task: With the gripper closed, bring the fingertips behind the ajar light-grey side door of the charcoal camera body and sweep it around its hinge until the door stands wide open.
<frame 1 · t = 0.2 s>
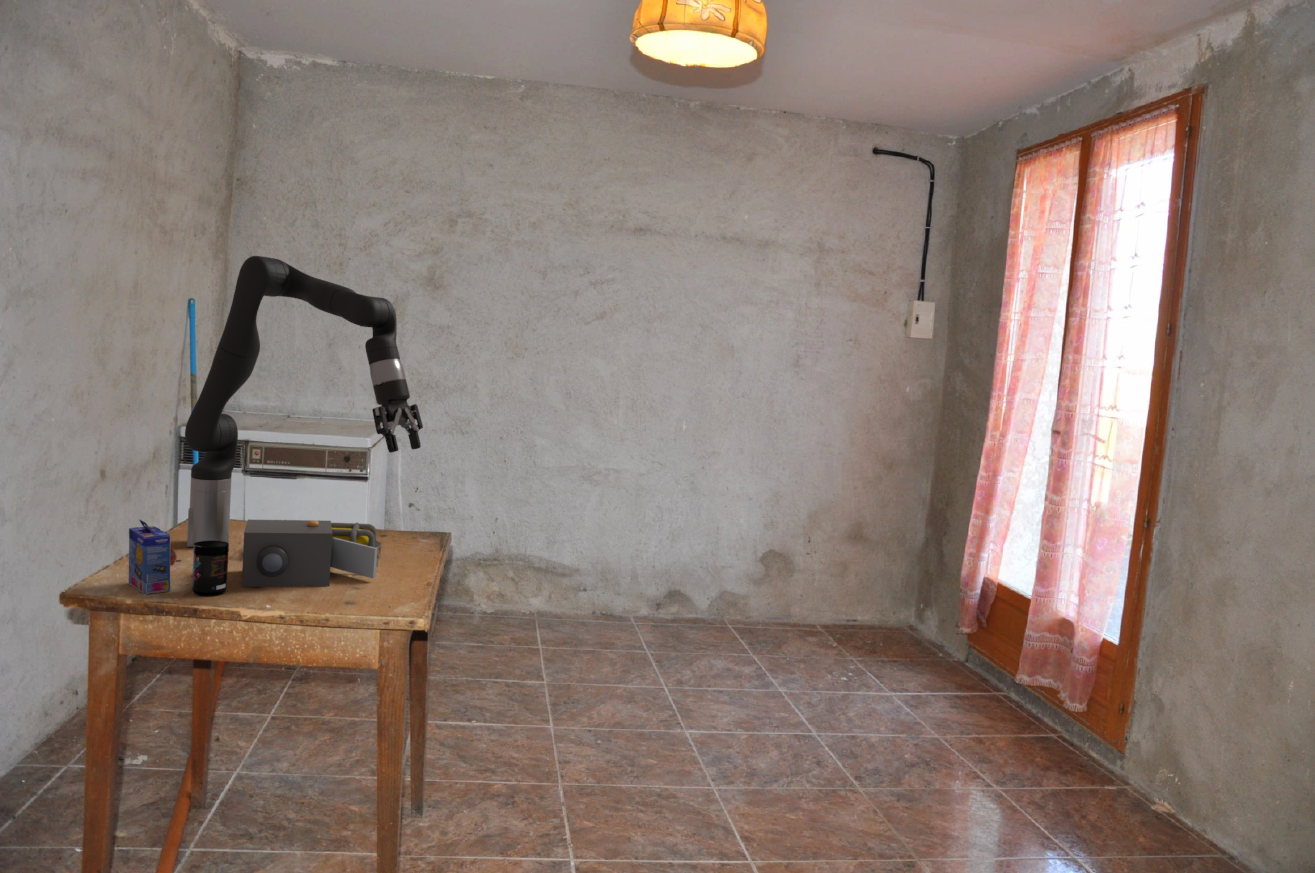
hand: (405, 450, 216), 31 cm above the table, tool tilted 20°, fingers open, 8 cm apart
cage light: (318, 557, 237), on the table
ink cartridge box: (148, 588, 198), on the table
supplement container: (209, 593, 199), on the table
side door: (353, 557, 220), point 4 cm above the table, hinge at 40.0°
camera body: (286, 578, 214), on the table
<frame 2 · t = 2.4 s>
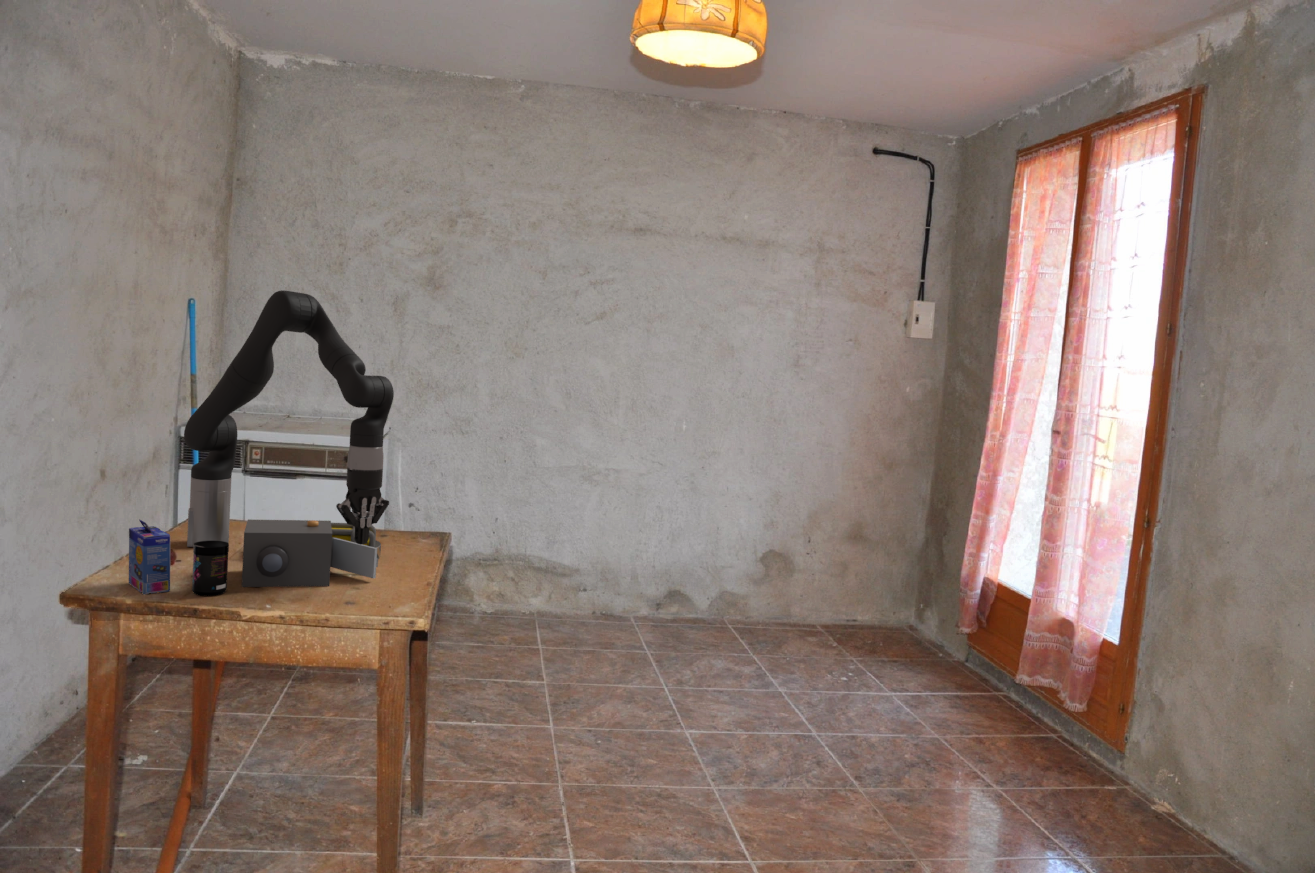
hand: (361, 543, 209), 11 cm above the table, tool pointing down, fingers closed
nothing on the table moved.
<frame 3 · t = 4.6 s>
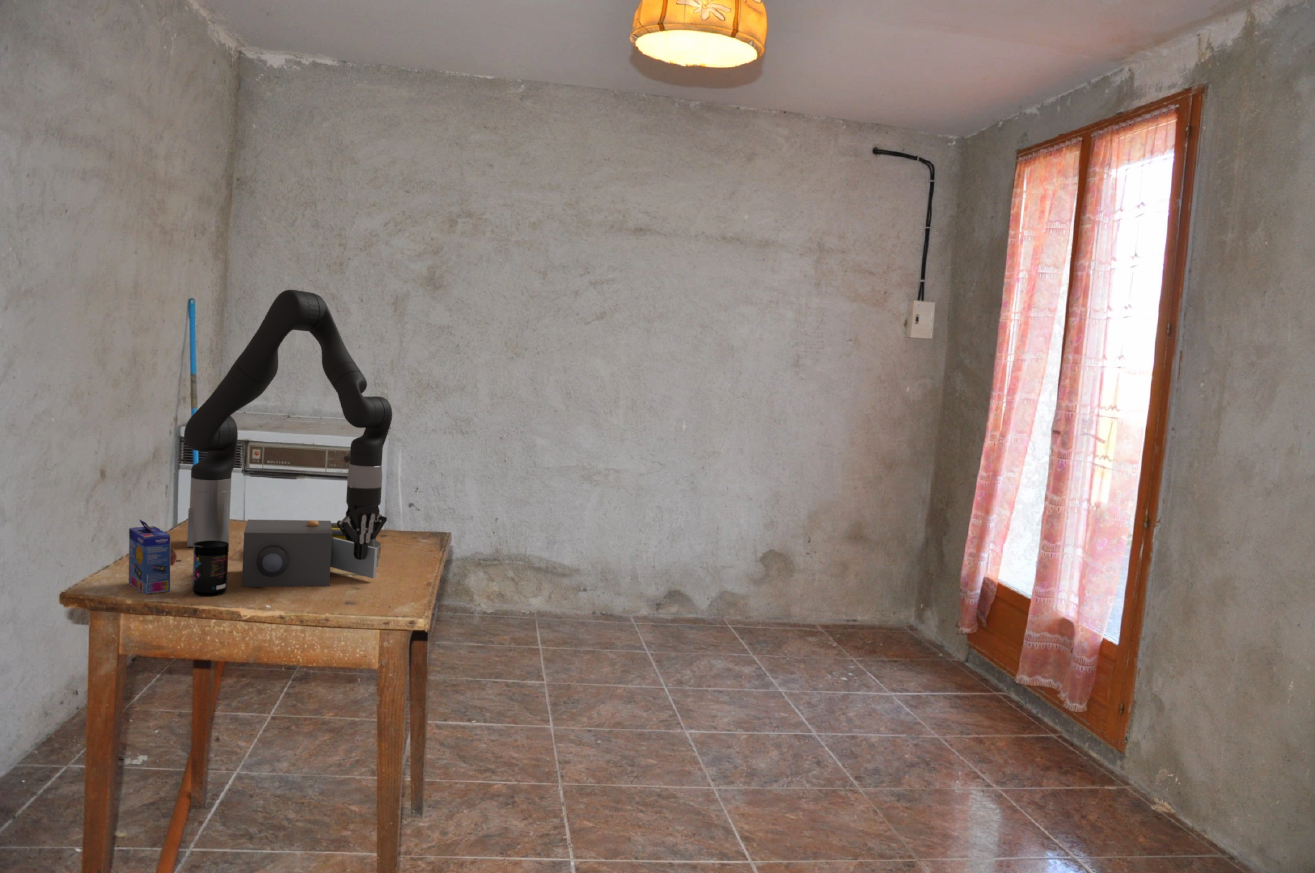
hand: (360, 558, 215), 6 cm above the table, tool pointing down, fingers closed
side door: (353, 557, 220), point 4 cm above the table, hinge at 40.2°, touching gripper
everything else where it was.
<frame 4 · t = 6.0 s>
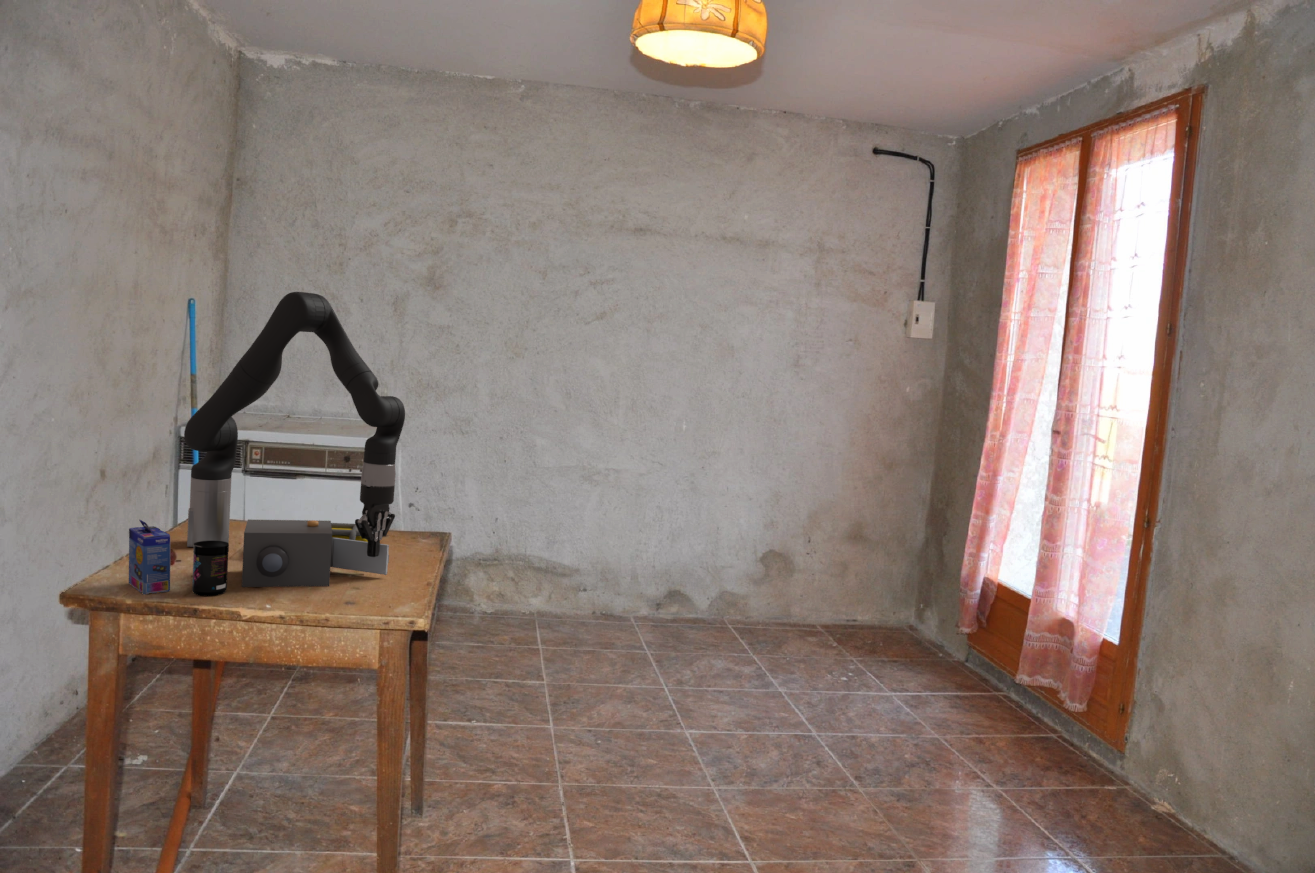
hand: (372, 556, 219), 6 cm above the table, tool pointing down, fingers closed
side door: (359, 555, 222), point 4 cm above the table, hinge at 58.6°, touching gripper
everything else where it was.
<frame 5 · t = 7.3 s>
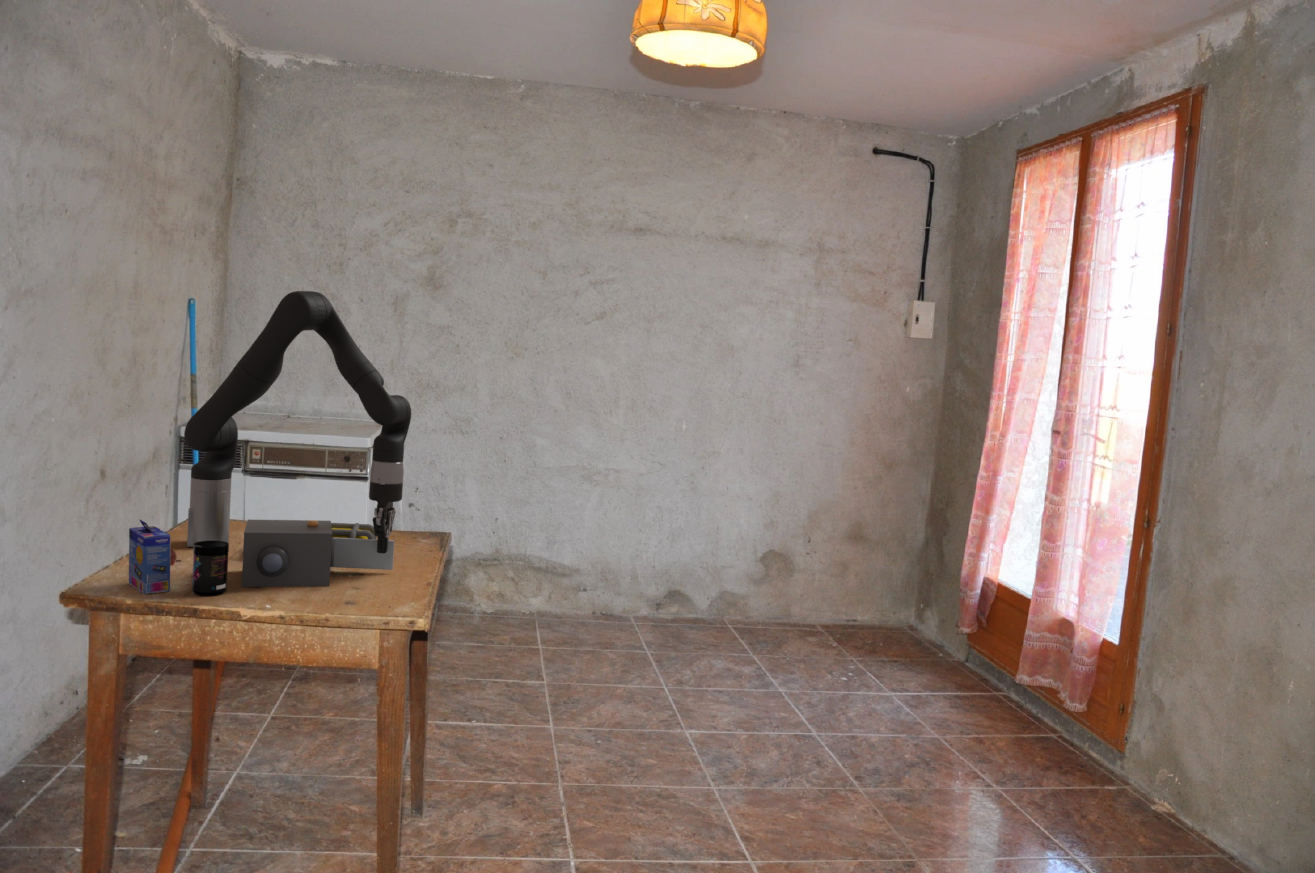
hand: (382, 552, 223), 6 cm above the table, tool pointing down, fingers closed
side door: (362, 553, 225), point 4 cm above the table, hinge at 78.5°, touching gripper
everything else where it was.
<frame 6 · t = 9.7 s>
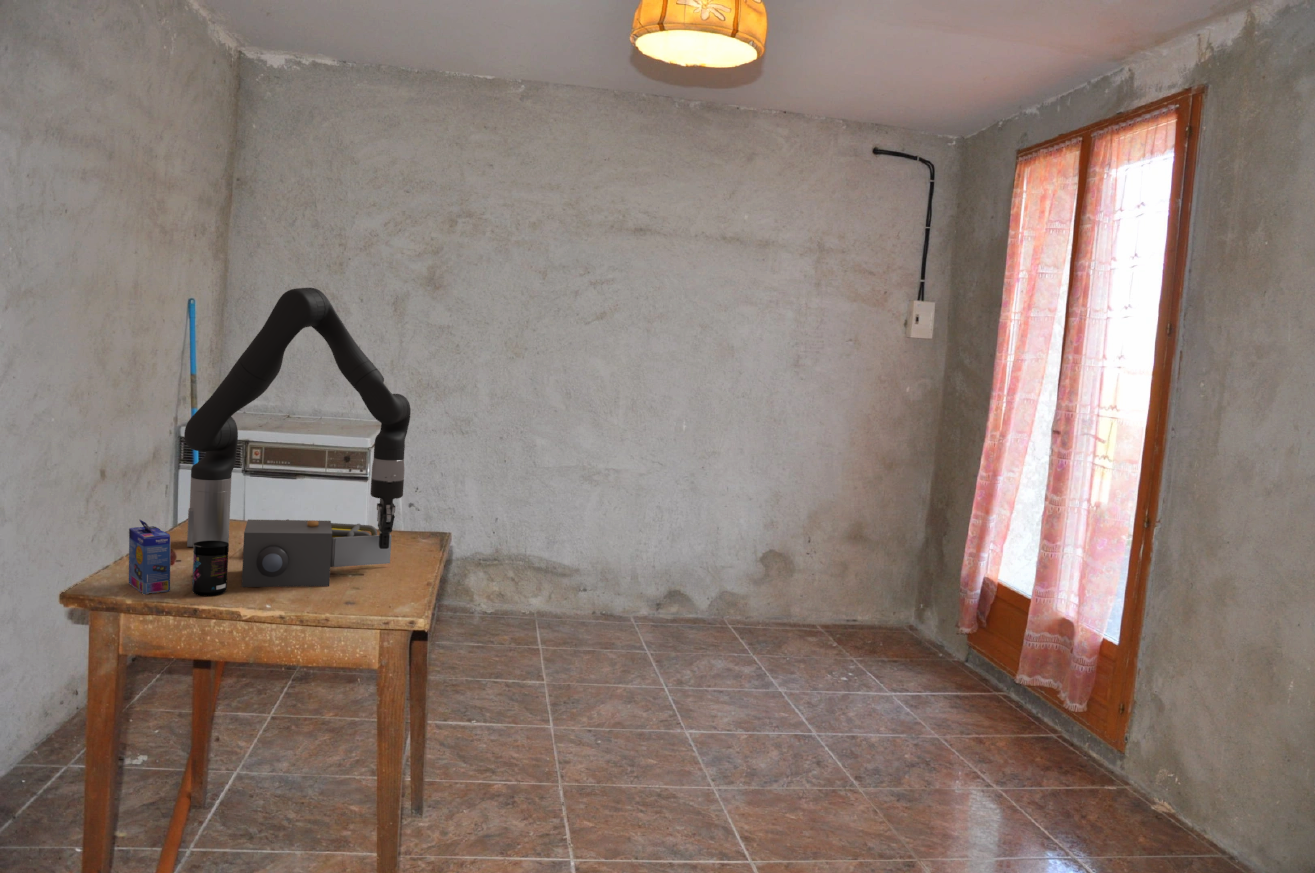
hand: (383, 548, 227), 6 cm above the table, tool pointing down, fingers closed
side door: (360, 550, 228), point 4 cm above the table, hinge at 105.2°
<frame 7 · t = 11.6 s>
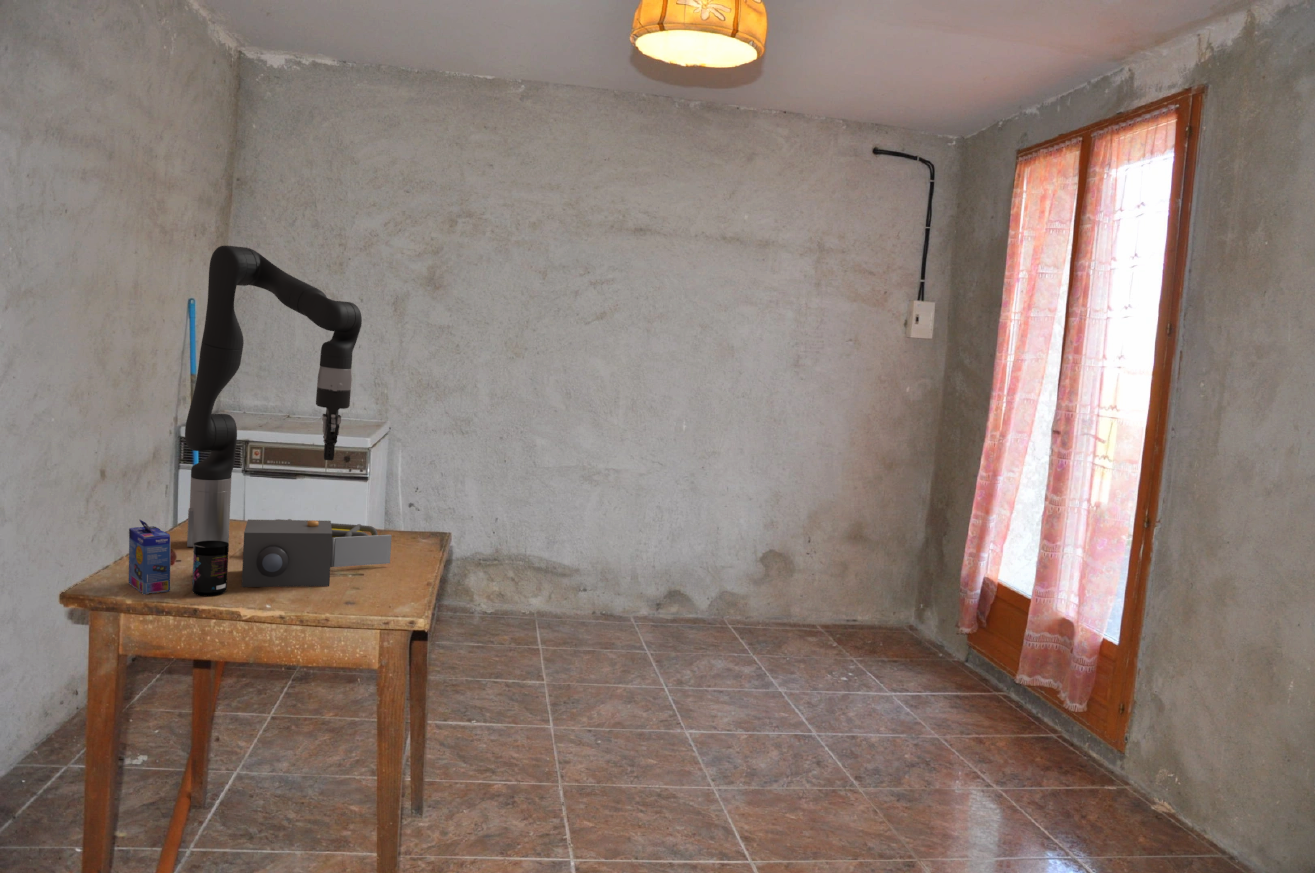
hand: (328, 459, 222), 26 cm above the table, tool pointing down, fingers closed
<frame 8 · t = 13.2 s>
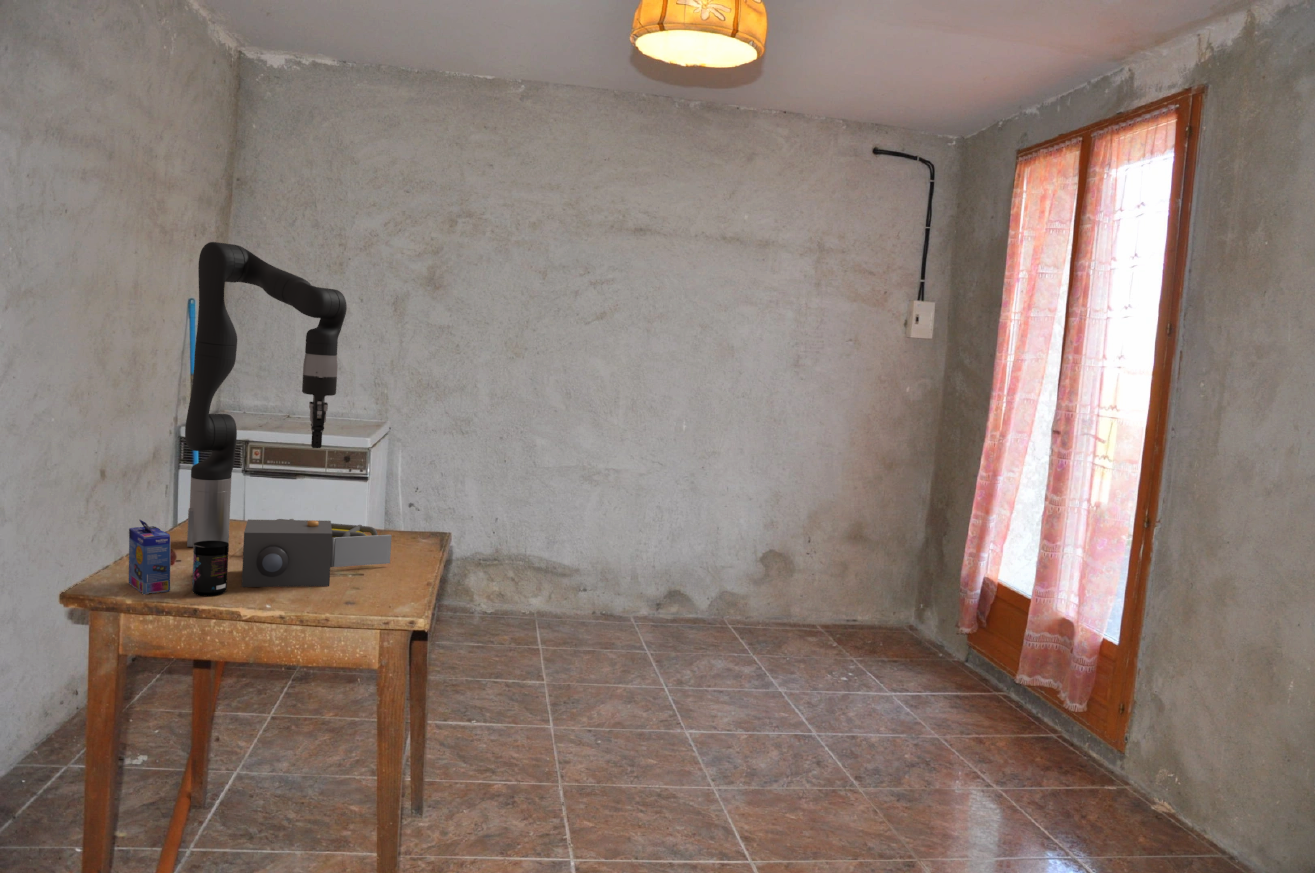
hand: (316, 447, 222), 29 cm above the table, tool pointing down, fingers closed
at the end: side door at +105° (first picture: +40°) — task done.
